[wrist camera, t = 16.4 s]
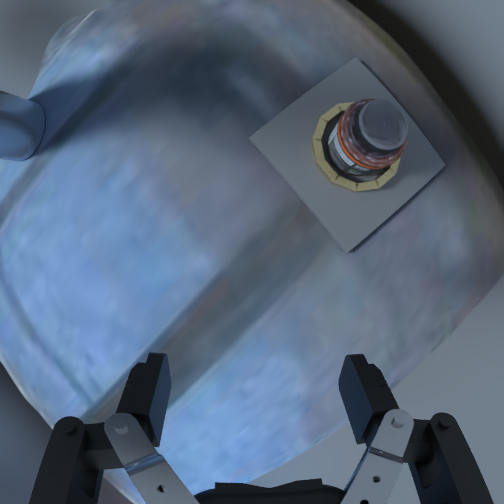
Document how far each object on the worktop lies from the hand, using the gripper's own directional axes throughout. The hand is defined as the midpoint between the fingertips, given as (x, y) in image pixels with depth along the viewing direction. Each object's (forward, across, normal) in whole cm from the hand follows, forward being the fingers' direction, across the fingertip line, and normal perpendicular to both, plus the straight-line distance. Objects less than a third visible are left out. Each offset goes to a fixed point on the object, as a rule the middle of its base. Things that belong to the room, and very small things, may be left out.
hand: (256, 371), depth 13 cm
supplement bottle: (+22, -11, -9) cm, 26 cm away
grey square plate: (+23, -11, -8) cm, 27 cm away
